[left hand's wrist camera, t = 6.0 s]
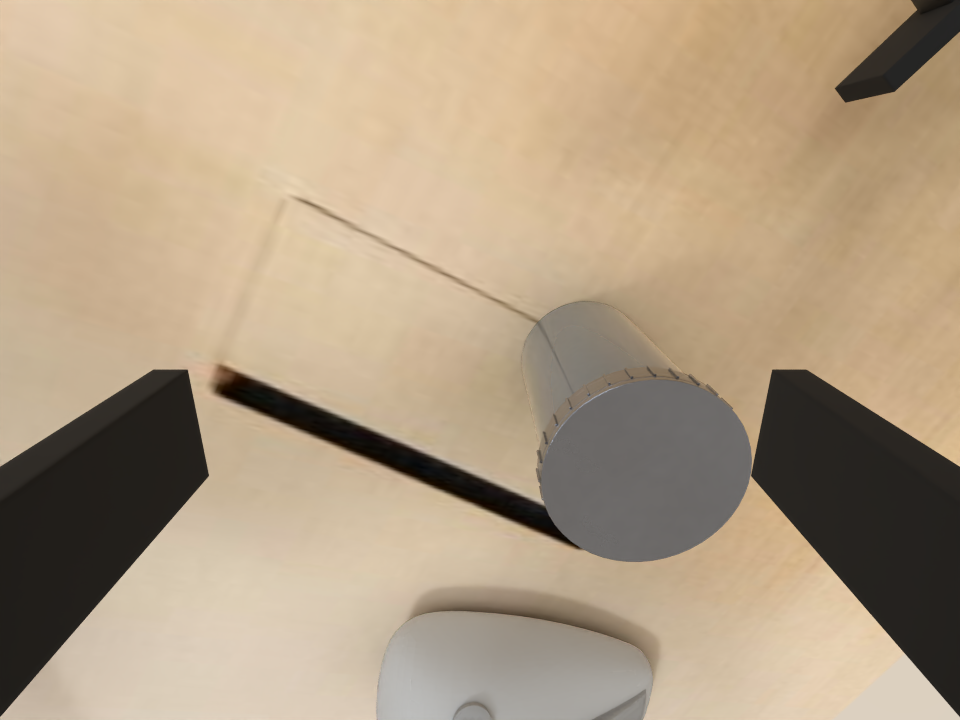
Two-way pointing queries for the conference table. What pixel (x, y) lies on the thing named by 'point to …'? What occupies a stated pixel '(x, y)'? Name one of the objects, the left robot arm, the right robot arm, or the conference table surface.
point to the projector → (509, 671)
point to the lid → (643, 464)
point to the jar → (580, 354)
